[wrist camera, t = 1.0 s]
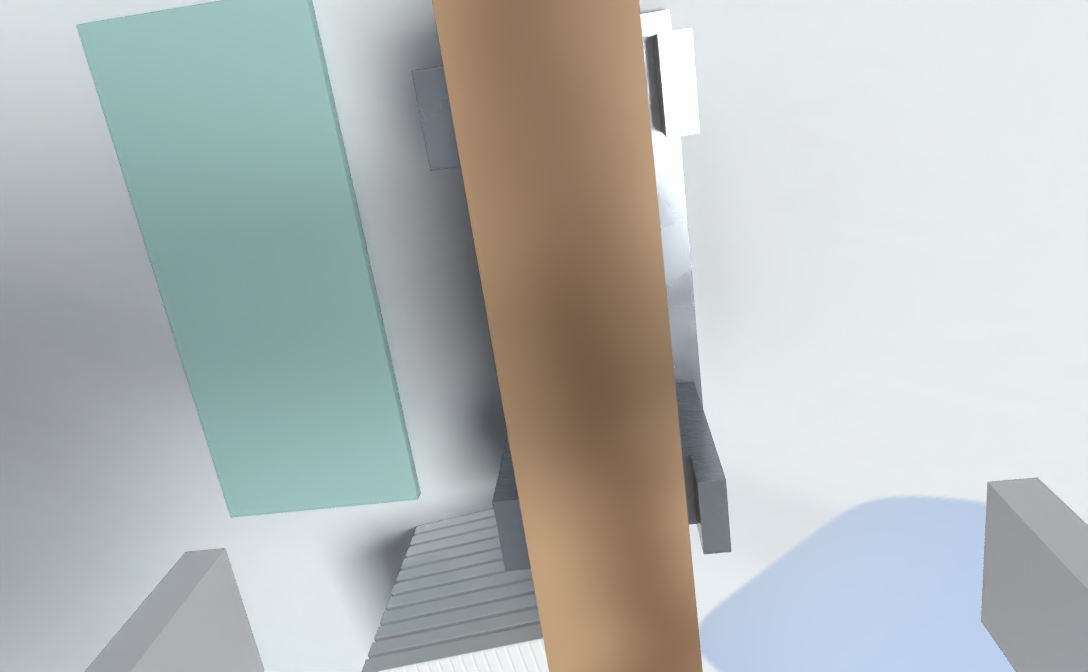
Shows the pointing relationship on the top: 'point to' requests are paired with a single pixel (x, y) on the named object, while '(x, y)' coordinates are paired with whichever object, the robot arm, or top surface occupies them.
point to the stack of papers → (459, 606)
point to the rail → (578, 319)
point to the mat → (257, 249)
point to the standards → (669, 120)
